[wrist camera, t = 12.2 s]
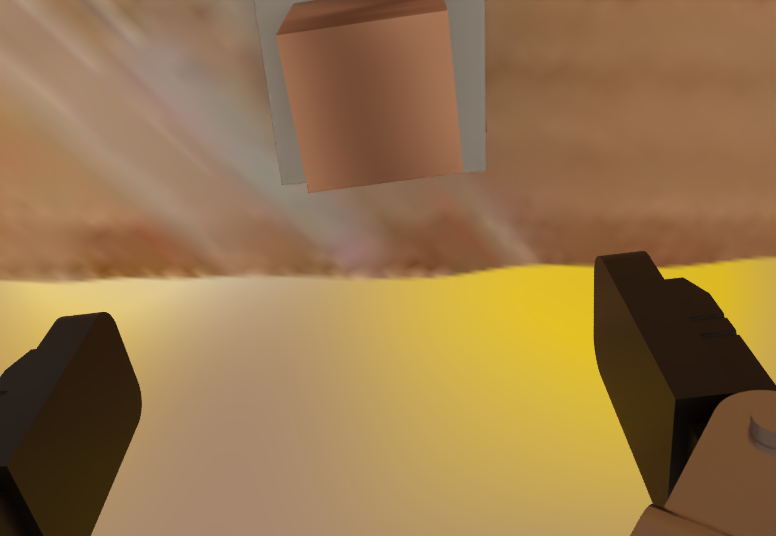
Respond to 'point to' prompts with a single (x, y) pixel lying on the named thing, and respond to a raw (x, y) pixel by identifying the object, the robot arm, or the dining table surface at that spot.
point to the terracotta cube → (371, 90)
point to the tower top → (468, 74)
